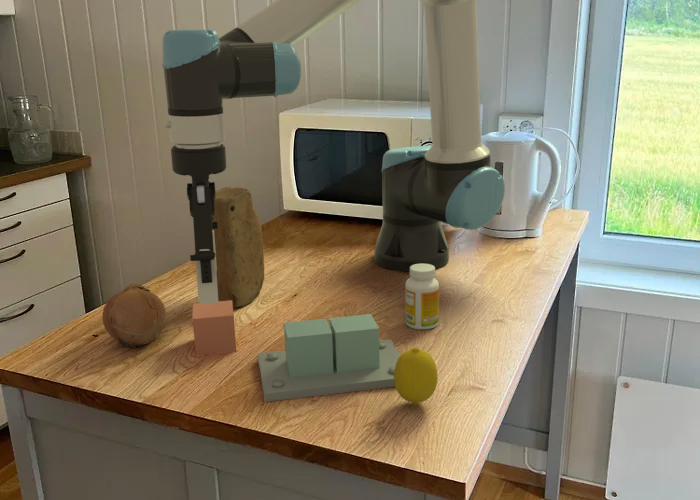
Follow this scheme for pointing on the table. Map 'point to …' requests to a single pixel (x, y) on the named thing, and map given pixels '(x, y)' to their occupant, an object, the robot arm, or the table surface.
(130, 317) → the onion
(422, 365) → the lemon
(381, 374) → the build plate
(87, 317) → the table surface
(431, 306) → the supplement bottle
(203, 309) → the brick block
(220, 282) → the rough sandstone chunk
